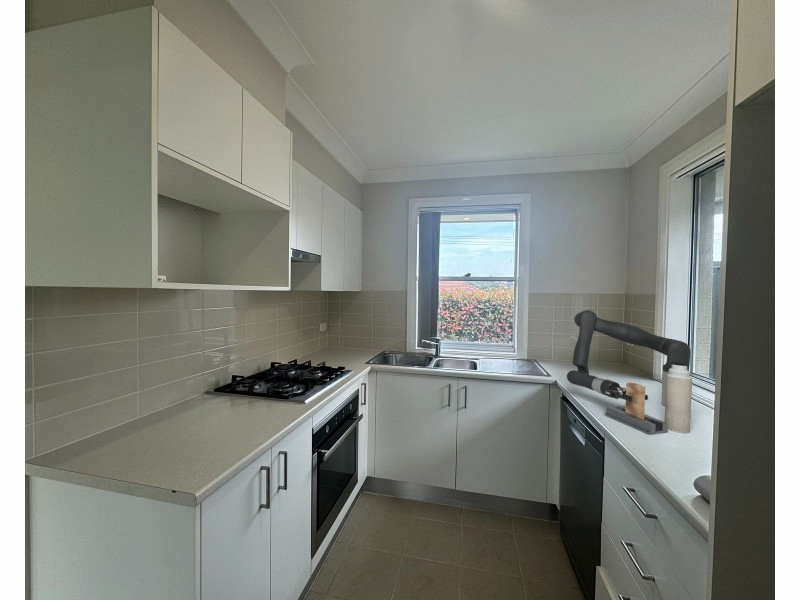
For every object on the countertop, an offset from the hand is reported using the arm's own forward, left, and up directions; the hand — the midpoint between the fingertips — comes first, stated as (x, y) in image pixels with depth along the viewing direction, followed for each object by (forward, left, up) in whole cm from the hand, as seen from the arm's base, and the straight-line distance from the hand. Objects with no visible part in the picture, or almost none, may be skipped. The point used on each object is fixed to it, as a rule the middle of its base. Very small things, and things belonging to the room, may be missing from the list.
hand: (639, 398), depth 133 cm
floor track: (0, -2, -12) cm, 12 cm away
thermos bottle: (-14, +3, -12) cm, 18 cm away
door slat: (0, -2, -10) cm, 11 cm away
